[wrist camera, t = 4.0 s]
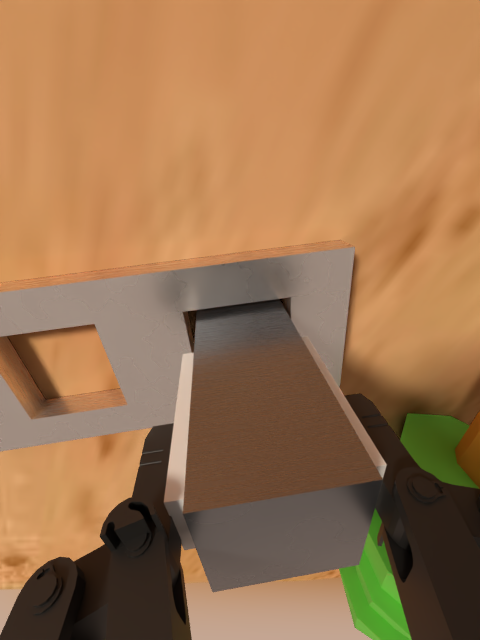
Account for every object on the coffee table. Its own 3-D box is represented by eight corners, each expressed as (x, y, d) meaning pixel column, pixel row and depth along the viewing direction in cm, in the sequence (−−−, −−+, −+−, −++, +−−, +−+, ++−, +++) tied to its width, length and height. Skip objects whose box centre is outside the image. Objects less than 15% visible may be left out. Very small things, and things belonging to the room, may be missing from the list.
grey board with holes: (-313, 322, 13) (-386, 343, 11) (340, 239, 14) (357, 247, 13) (-148, 455, 18) (-183, 482, 16) (328, 381, 19) (339, 400, 18)
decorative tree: (869, 554, 9) (433, 757, 21) (578, 374, 19) (395, 580, 32) (502, 435, 11) (293, 684, 23) (413, 328, 21) (301, 540, 34)
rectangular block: (196, 309, 15) (182, 513, 6) (278, 298, 15) (382, 479, 6) (209, 373, 17) (212, 592, 8) (280, 363, 17) (358, 564, 8)
